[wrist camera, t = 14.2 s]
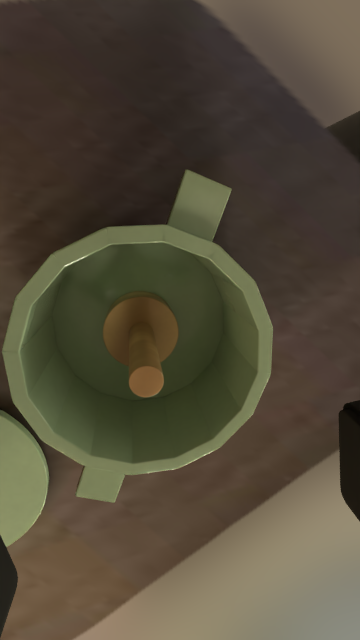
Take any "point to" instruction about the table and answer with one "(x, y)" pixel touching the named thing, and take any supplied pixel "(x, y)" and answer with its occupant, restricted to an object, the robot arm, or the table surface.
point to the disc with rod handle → (141, 338)
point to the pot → (113, 377)
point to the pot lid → (20, 479)
